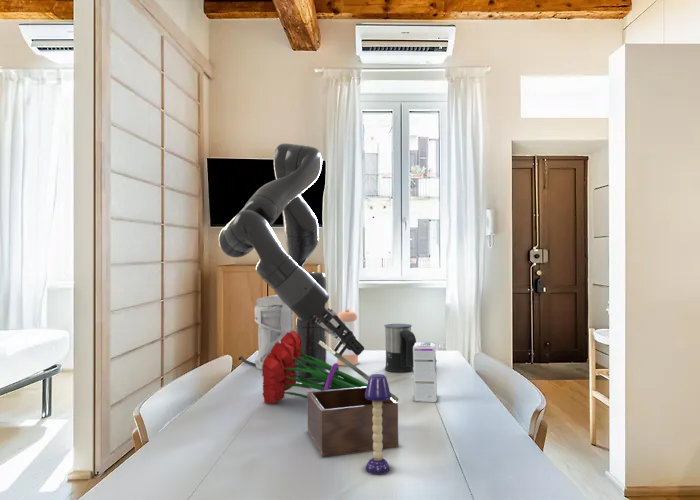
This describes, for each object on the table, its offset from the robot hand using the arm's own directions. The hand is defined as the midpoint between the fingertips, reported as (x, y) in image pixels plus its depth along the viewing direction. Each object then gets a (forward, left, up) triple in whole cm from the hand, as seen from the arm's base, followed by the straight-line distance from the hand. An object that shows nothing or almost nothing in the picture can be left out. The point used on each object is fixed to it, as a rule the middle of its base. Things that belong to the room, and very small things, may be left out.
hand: (356, 349), depth 102 cm
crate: (-1, -1, -19) cm, 19 cm away
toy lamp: (+10, -11, -19) cm, 24 cm away
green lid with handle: (0, 0, -5) cm, 5 cm away
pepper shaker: (-36, +61, -19) cm, 73 cm away
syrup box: (+3, +33, -19) cm, 38 cm away
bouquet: (-19, +16, -19) cm, 31 cm away
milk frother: (-13, +63, -19) cm, 67 cm away
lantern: (-57, +46, -19) cm, 76 cm away
